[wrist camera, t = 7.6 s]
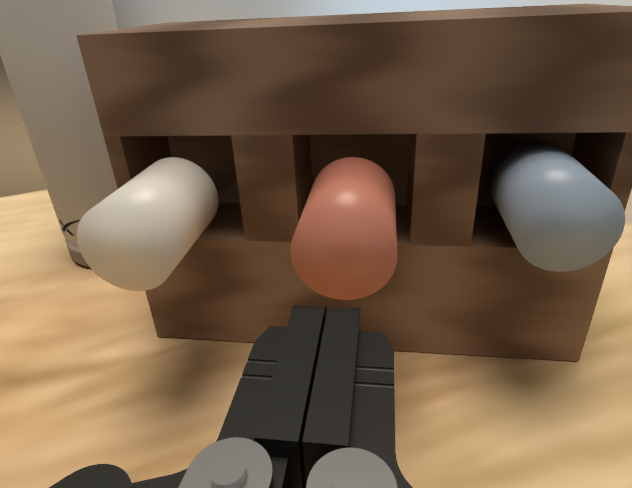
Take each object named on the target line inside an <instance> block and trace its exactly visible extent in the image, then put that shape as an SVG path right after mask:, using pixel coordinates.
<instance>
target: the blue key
mask: <svg viewBox="0 0 632 488" xmlns="http://www.w3.org/2000/svg"><path fill="white" fill-rule="evenodd" d="M488 186H489V191H490V194H491V197H492V199H493V201H494V203H495V205H496V207H497V209H498V211H499V212H500V214H501V216H502V218H503V220H504V222H505V224H506V226H507V228H508V230H509V232H510V234H511V236H512V238H513V240H514V242H515V244H516V246H517V248H518V250H519V251H520V253H521V255H522V256H523V257H524V258H525V259H526V260H527V261H528V262H530V263H531V264H533V265H534V266H536V267H538V268H541V269H544V270H549V271H557V272H565V271H572V270H577V269H581V268H584V267H586V266H589V265H591V264H593V263H595V262H596V261H598V260H600V259H601V258H603V257H604V256H605V255H606V254H607V253H609V252H610V251H611V249H612V248H613V247H614V246H615V245H616V243H617V242H618V240H619V239H620V237H621V235H622V232H623V229H624V225H625V212H624V208H623V206H622V203H621V201H620V200H619V199H618V197H617V196H616V195H615V194H614V193H613V192H612V191H611V190H610V189H609V188H607V187H606V186H605V185H604V184H603V183H602V182H601V181H599V180H598V179H597V178H596V177H595V176H594V175H593V174H592V173H590V172H589V171H588V170H587V169H586V168H585V167H584V166H583V165H581V164H580V163H579V162H578V161H577V160H576V159H575V158H573V157H572V156H571V155H570V154H569V153H568V152H567V151H566V150H564V149H563V148H562V147H561V146H559V145H558V144H556V143H554V142H550V141H547V140H529V141H524V142H521V143H518V144H516V145H514V146H512V147H511V148H509V149H508V150H506V151H505V152H504V153H503V154H502V155H501V156H500V157H499V158H498V159H497V160H496V162H495V163H494V165H493V167H492V169H491V171H490V175H489V181H488Z"/></svg>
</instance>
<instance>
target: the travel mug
mask: <svg viewBox="0 0 632 488" xmlns="http://www.w3.org/2000/svg"><path fill="white" fill-rule="evenodd" d="M111 30H118V26H117V22H116V17H115V13H114V9H113V5H112V0H0V55H1V58H2V61H3V64H4V67H5V70H6V72H7V75H8V78H9V81H10V84H11V87H12V90H13V92H14V95H15V98H16V101H17V104H18V106H19V109H20V112H21V115H22V118H23V121H24V124H25V127H26V129H27V132H28V135H29V138H30V141H31V144H32V147H33V150H34V152H35V155H36V158H37V161H38V164H39V167H40V170H41V172H42V175H43V178H44V181H45V184H46V187H47V190H48V192H49V195H50V198H51V201H52V204H53V207H54V210H55V212H56V215H57V218H58V221H59V224H60V227H61V230H62V233H63V235H64V236H65V240H66V244H67V247H68V250H69V253H70V255H71V257H72V259H73V260H74V261H75V262H77V263H78V264H80V265H83V266H87V267H90V266H89V265H88V264H87V262H86V261H85V260H84V258H83V256H82V254H81V252H80V249H79V246H78V242H77V229H78V225H79V222H80V220H81V218H82V217H83V216H84V214H85V213H86V212H88V211H89V210H90V209H91V208H93V207H94V206H96V205H97V204H98V203H100V202H101V201H102V200H104V199H105V198H106V197H108V196H109V195H111V194H112V193H113V192H115V191H116V190H117V189H118V188H117V184H116V180H115V177H114V173H113V169H112V166H111V162H110V158H109V155H108V151H107V147H106V144H105V140H104V136H103V132H102V129H101V125H100V121H99V118H98V114H97V110H96V107H95V103H94V99H93V96H92V92H91V88H90V84H89V81H88V77H87V73H86V70H85V66H84V62H83V59H82V55H81V51H80V48H79V44H78V40H77V36H76V35H81V34H89V33H96V32H103V31H111Z"/></svg>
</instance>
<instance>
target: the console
mask: <svg viewBox="0 0 632 488" xmlns="http://www.w3.org/2000/svg"><path fill="white" fill-rule="evenodd" d="M76 36H77V40H78V44H79V48H80V51H81V55H82V59H83V62H84V66H85V70H86V73H87V77H88V81H89V84H90V88H91V92H92V96H93V99H94V103H95V107H96V110H97V114H98V118H99V121H100V125H101V129H102V132H103V136H104V140H105V144H106V147H107V151H108V155H109V158H110V162H111V166H112V169H113V173H114V177H115V180H116V184H117V188H118V189H119V188H120V187H122V186H123V185H124V184H126V183H127V182H128V181H130V180H131V179H133V178H134V177H135V176H137V175H138V174H139V173H141V172H142V171H144V170H145V169H146V168H148V167H149V166H150V165H152V164H153V163H155V162H156V161H158V160H160V159H163V158H168V157H177V158H183V159H186V160H189V161H191V162H193V163H195V164H196V165H198V166H199V167H201V168H202V169H203V170H204V171H205V172H206V173H207V174H208V175H209V176H210V178H211V179H212V181H213V183H214V185H215V187H216V189H217V193H218V200H219V202H218V210H217V212H216V215H215V217H214V218H213V219H212V221H211V222H210V223H209V225H208V226H207V227H206V229H205V230H204V231H203V232H202V234H201V235H200V236H199V238H198V239H197V240H196V242H195V243H194V244H193V245H192V247H191V248H190V249H189V251H188V252H187V253H186V255H185V256H184V257H183V258H182V260H181V261H180V262H179V264H178V265H177V266H176V267H175V269H174V270H173V271H172V273H171V274H170V275H169V277H168V278H167V279H166V280H165V281H164V282H163V283H162V284H161V285H159V286H158V287H156V288H153V289H150V290H145V291H146V295H147V299H148V302H149V306H150V310H151V313H152V317H153V321H154V324H155V328H156V332H157V336H158V337H169V338H187V339H204V340H221V341H238V342H255V340H256V339H257V338H258V337H259V336H260V335H261V334H262V333H263V332H264V331H265V330H266V329H267V328H268V327H269V326H282V327H287V325H288V321H289V318H290V315H291V311H292V308H293V306H294V305H314V306H326V307H327V309H328V306H339V307H360V308H361V331H378V332H384V334H385V335H386V337H387V339H388V340H389V342H390V344H391V345H392V347H393V351H410V352H427V353H444V354H462V355H479V356H496V357H513V358H530V359H547V360H565V361H579V359H580V355H581V352H582V349H583V345H584V342H585V339H586V336H587V332H588V329H589V326H590V323H591V319H592V316H593V313H594V310H595V306H596V303H597V300H598V297H599V293H600V290H601V287H602V284H603V280H604V277H605V274H606V270H607V267H608V264H609V261H610V257H611V254H612V251H613V248H614V247H613V248H612V249H611V251H610V252H609V253H607V254H606V255H605V256H604V257H603V258H601V259H600V260H598V261H596V262H595V263H593V264H591V265H589V266H586V267H584V268H581V269H577V270H572V271H565V272H557V271H549V270H544V269H541V268H538V267H536V266H534V265H533V264H531V263H530V262H528V261H527V260H526V259H525V258H524V257H523V256H522V255H521V253H520V251H519V250H518V248H517V246H516V244H515V242H514V240H513V238H512V236H511V234H510V232H509V230H508V228H507V226H506V224H505V222H504V220H503V218H502V216H501V214H500V212H499V211H498V209H497V207H496V205H495V203H494V201H493V199H492V197H491V194H490V191H489V186H488V181H489V175H490V171H491V169H492V167H493V165H494V163H495V162H496V160H497V159H498V158H499V157H500V156H501V155H502V154H503V153H504V152H505V151H506V150H508V149H509V148H511V147H512V146H514V145H516V144H518V143H521V142H524V141H529V140H547V141H550V142H554V143H556V144H558V145H559V146H561V147H562V148H563V149H564V150H566V151H567V152H568V153H569V154H570V155H571V156H572V157H573V158H575V159H576V160H577V161H578V162H579V163H580V164H581V165H583V166H584V167H585V168H586V169H587V170H588V171H589V172H590V173H592V174H593V175H594V176H595V177H596V178H597V179H598V180H599V181H601V182H602V183H603V184H604V185H605V186H606V187H607V188H609V189H610V190H611V191H612V192H613V193H614V194H615V195H616V196H617V197H618V199H619V200H620V201H621V203H622V206H623V208H624V212H625V208H626V205H627V201H628V198H629V195H630V192H631V189H632V6H616V5H598V4H572V5H571V4H570V5H549V6H528V7H527V6H526V7H504V8H482V9H462V10H461V9H460V10H437V11H417V12H416V11H415V12H394V13H372V14H350V15H349V14H348V15H328V16H327V15H326V16H306V17H282V18H260V19H238V20H216V21H195V22H194V21H193V22H173V23H163V24H155V25H148V26H141V27H133V28H125V29H118V30H111V31H103V32H96V33H89V34H81V35H76ZM346 157H359V158H364V159H367V160H370V161H372V162H374V163H376V164H377V165H379V166H380V167H381V168H382V169H384V171H385V172H386V173H387V174H388V175H389V177H390V179H391V181H392V183H393V186H394V190H395V207H396V233H397V264H396V268H395V271H394V273H393V275H392V277H391V278H390V280H389V281H388V282H387V283H386V285H385V286H383V287H382V288H381V289H380V290H378V291H377V292H375V293H373V294H371V295H369V296H367V297H364V298H360V299H354V300H339V299H333V298H329V297H326V296H323V295H321V294H319V293H317V292H315V291H314V290H312V289H311V288H309V287H308V286H307V285H306V284H305V283H304V282H303V281H302V280H301V279H300V278H299V276H298V275H297V273H296V271H295V269H294V267H293V264H292V261H291V255H290V248H291V242H292V238H293V235H294V233H295V230H296V228H297V225H298V223H299V220H300V217H301V215H302V212H303V210H304V207H305V204H306V202H307V199H308V197H309V194H310V191H311V189H312V186H313V184H314V181H315V179H316V177H317V176H318V174H319V173H320V172H321V170H322V169H323V168H324V167H326V166H327V165H328V164H330V163H331V162H333V161H336V160H338V159H341V158H346Z"/></svg>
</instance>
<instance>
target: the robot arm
mask: <svg viewBox="0 0 632 488" xmlns="http://www.w3.org/2000/svg"><path fill="white" fill-rule="evenodd" d="M49 488H413V487H411V485H410V484H409V483H408V482H407V481H406V479H405V478H404V476H403V475H402V473H401V471H400V469H399V467H398V464H397V460H396V454H395V409H394V351H393V347H392V345H391V344H390V342H389V340H388V339H387V337H386V335H385V334H384V332H378V331H361V308H360V307H339V306H328V309H327V307H326V306H314V305H294V306H293V308H292V311H291V315H290V318H289V321H288V325H287V327H282V326H269V327H268V328H267V329H266V330H265V331H264V332H263V333H262V334H261V335H260V336H259V337H258V338H257V339H256V340H255V342H254V345H253V347H252V350H251V353H250V355H249V358H248V362H247V363H246V366H245V368H244V371H243V375H242V378H241V379H240V382H239V384H238V387H237V390H236V392H235V395H234V397H233V400H232V403H231V405H230V408H229V411H228V413H227V416H226V418H225V421H224V424H223V426H222V429H221V432H220V434H219V437H218V439H217V441H216V442H215V443H213V444H211V445H209V446H208V447H206V448H205V449H203V450H202V451H201V452H200V453H199V454H198V455H197V456H196V457H195V458H194V460H193V461H192V462H191V464H190V466H189V467H188V468H187V469H185V470H183V471H181V472H178V473H175V474H171V475H168V476H163V477H158V478H154V479H149V480H144V481H140V482H135V483H131V480H130V478H129V476H128V475H127V473H126V472H125V471H124V470H122V469H121V468H119V467H117V466H114V465H110V464H97V465H91V466H88V467H85V468H82V469H80V470H78V471H75V472H74V473H72V474H70V475H68V476H67V477H65V478H64V479H62V480H60V481H59V482H57V483H56V484H54V485H53V486H51V487H49Z"/></svg>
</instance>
